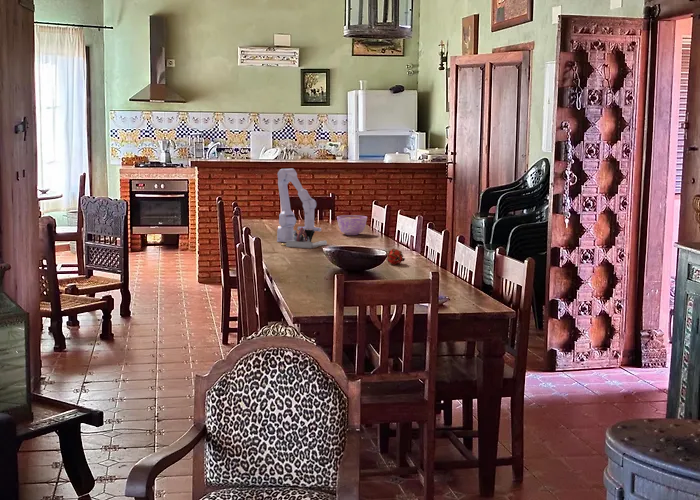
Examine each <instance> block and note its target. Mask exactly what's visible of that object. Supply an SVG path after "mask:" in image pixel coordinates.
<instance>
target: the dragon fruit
mask: <svg viewBox="0 0 700 500" xmlns="http://www.w3.org/2000/svg"><path fill="white" fill-rule="evenodd" d="M386 258H387V263H388V264H389V263H390V264H391V265H393V266H395V265H400V264H402V262H405V259H406V258H405V257H404V255H403V252H402V251H401V250H399V249H397V248H391V249H390V250H389V251H387V257H386Z"/></svg>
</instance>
